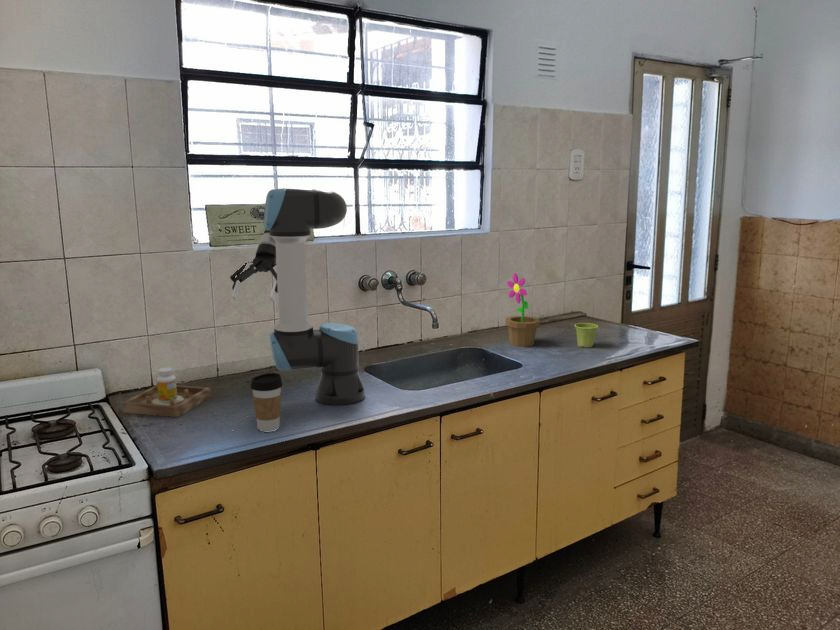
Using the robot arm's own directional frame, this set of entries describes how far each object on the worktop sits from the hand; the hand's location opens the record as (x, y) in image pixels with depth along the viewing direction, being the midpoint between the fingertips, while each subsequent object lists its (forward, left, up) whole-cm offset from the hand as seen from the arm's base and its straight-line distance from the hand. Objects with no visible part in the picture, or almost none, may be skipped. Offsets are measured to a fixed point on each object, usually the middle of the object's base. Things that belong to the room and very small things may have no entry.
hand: (252, 299), depth 215 cm
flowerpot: (-3, -110, -28) cm, 113 cm away
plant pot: (-18, -131, -28) cm, 135 cm away
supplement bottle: (-12, +30, -27) cm, 42 cm away
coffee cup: (-45, +8, -28) cm, 54 cm away
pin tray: (-12, +30, -28) cm, 43 cm away
